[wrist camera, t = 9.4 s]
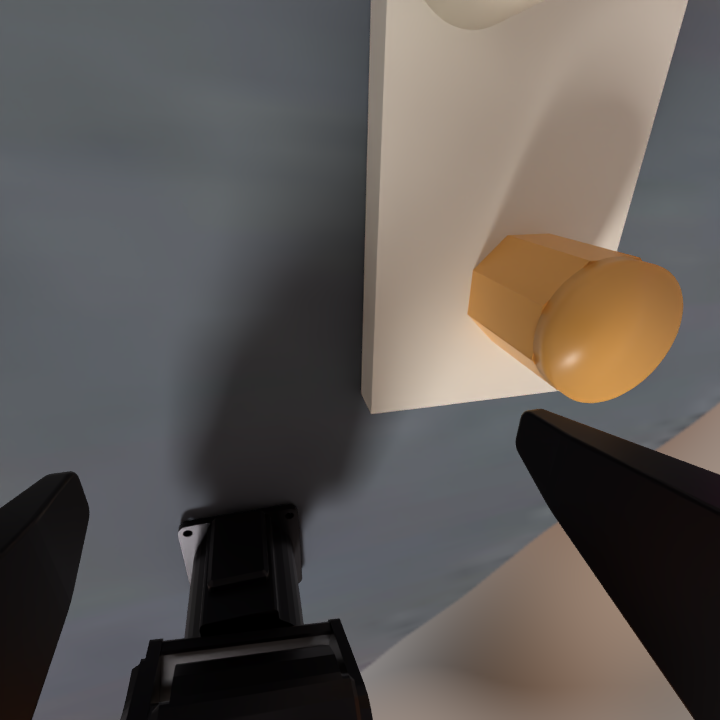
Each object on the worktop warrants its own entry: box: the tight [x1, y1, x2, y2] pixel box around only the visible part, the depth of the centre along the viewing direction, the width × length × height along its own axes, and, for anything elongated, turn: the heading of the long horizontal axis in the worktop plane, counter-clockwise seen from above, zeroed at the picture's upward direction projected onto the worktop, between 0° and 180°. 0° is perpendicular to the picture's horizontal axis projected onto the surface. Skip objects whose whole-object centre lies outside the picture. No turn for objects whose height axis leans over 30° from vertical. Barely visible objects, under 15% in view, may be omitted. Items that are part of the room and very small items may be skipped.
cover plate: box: [361, 0, 688, 414], centre depth 16 cm, size 20×12×8 cm, turn 178°
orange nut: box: [467, 233, 683, 403], centre depth 17 cm, size 5×5×6 cm
